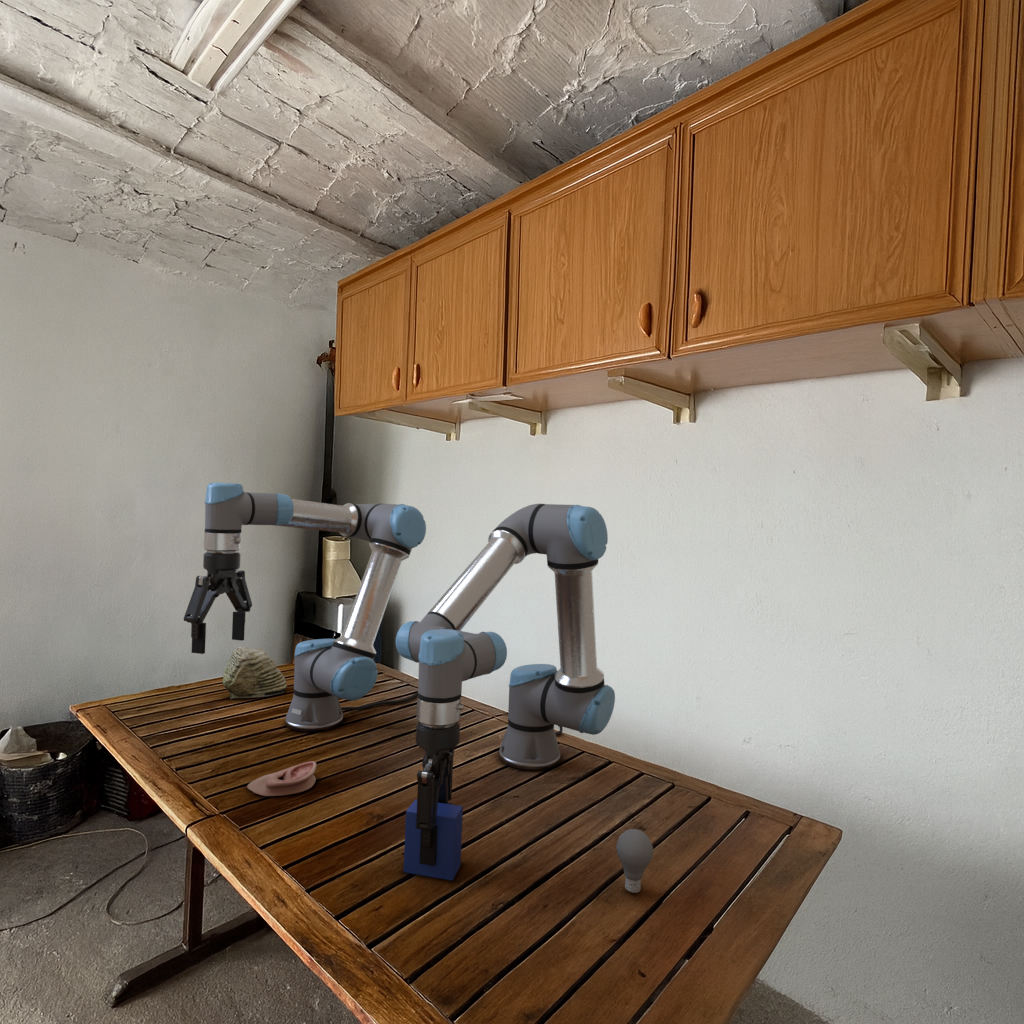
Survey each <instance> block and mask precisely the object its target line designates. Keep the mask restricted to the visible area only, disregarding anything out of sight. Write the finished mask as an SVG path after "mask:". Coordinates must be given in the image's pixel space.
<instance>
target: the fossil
mask: <svg viewBox="0 0 1024 1024" xmlns="http://www.w3.org/2000/svg"><path fill="white" fill-rule="evenodd" d="M222 676H223V677H222V685H223V687H224V688H225V690H226V691H228V693H229V698H230V699H250V698H264V697H271V696H275V695H281V694H284V693H285V691H286V689H287V687H288V686H287V680H286V678H285V676H284V674H283V673H282V672H281V669H279V668H278V667H277V665H276V663H275V662H274V660H273V659H272V658H271V657H270V656H269V655H268V654H267V653H266V652H265V650H264V649H263V648H260V647H258V648H251V647H247V646H246V647H245V646H238V647H237V648H236V649H235V650H233V651H232V653H231V656H230V657H229V659H228V660H227V663H226V666H225V668H224V671H223V675H222Z"/></svg>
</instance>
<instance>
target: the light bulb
mask: <svg viewBox="0 0 1024 1024" xmlns="http://www.w3.org/2000/svg"><path fill="white" fill-rule="evenodd" d="M615 849H616V854H617V857H618V859H619V861H620V863H621V865H622V867H623V873H624V874H623V875H624V876H625V878H624V888H625V890H627V891H628V892H630V893H634V894H635V893H639V892H640V891H641V889H642V887H641V886H642V879H643V877H644V875H645V871H646V868H647V867H648V866H649V864H650V863H651V861H652V859H653V855H654V847H653V843H652V841H651V838H649V836H648V835H647V834H646V833H645V832H643V831H642V830H641V829H636V828H629V829H627V830H625V831H623V832H622V833H621V834H620V835H619V837H618V839H617V841H616V847H615Z"/></svg>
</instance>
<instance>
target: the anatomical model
mask: <svg viewBox="0 0 1024 1024" xmlns="http://www.w3.org/2000/svg"><path fill="white" fill-rule="evenodd" d="M316 770H317V762H316V761H314V760H311V761H306V762H303V763H298V764H296V765H293V766H290V767H287V768H284V769H282V770H279V771H275V772H272V773H269V774H265V775H263V776H260V777H257V778H256V779H254V780H252V781H250V782H249V783H248V784H247V786H246V788H247V789H248V790H249V791H250V792H251V793H253V794H256V795H259V796H263V797H277V796H287V795H295V794H299V793H302V792H305V791H307V790H309V789H311V788H312V787H313V786H314V785H315V784H316V780H317V777H316V776H315V775H314V774H315V772H316Z"/></svg>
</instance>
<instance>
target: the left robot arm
mask: <svg viewBox="0 0 1024 1024" xmlns="http://www.w3.org/2000/svg"><path fill="white" fill-rule="evenodd" d="M243 526H275V527H287V528H293V529H295V528H296V529H302V530H303V529H304V530H312V531H313V530H314V531H322V532H333V533H339V534H340V535H341V536H343V537H345V538H347V537H348V538H354V539H359V540H362V541H366V542H369V543H368V545H369V547H370V550H371V554H370V557H369V560H368V563H367V564H366V568H365V569H364V573H363V577H362V578H361V582H360V585H359V587H358V590H357V593H356V596H355V598H354V601H353V604H352V607H351V610H350V612H349V615H348V617H347V621H346V623H345V626H344V629H343V632H342V634H341V636H339V637H337V638H318V639H308V640H304V641H300V642H299V643H297V644H296V646H295V650H294V655H293V657H294V672H293V673H294V674H293V695H292V696H293V697H292V699H291V702H290V704H289V708H288V711H287V713H286V715H285V726H286V728H287V729H289V730H291V731H294V732H295V731H296V732H301V733H316V732H325V731H329V730H332V729H335V728H337V727H339V726H340V725H342V723H343V722H344V714H343V711H360V710H365V709H369V708H372V707H377V706H383V705H392V704H400V703H401V704H402V703H405V702H408V701H411V700H413V699H414V698H416V697H417V696H418V691H416V692H415V693H413V694H412V695H410V696H408V697H405V698H402V699H394V700H383V701H376V702H372V703H368V704H365V705H360V706H341V702H340V699H341V700H345V701H357V700H360V699H362V698H363V697H364V696H367V695H368V694H369V693H370V692H371V691H372V690H373V688H374V686H375V684H376V682H377V679H378V673H379V670H378V669H377V667H378V666H377V664H376V662H375V658H376V656H377V651H376V649H375V647H374V643H375V641H376V637H377V634H378V631H379V629H380V626H381V623H382V620H383V618H384V614H385V611H386V609H387V605H388V603H389V599H390V596H391V594H392V591H393V588H394V586H395V582H396V579H397V577H398V574H399V570H400V568H401V564H402V563H403V561H405V560H407V559H408V558H410V556H411V553H412V550H413V549H414V548H417V547H419V545H421V544H422V543H423V542H424V540H425V537H426V533H427V524H426V520H425V519H424V515H423V513H422V512H421V511H420V510H419V509H418V508H417V507H415V506H413V505H408V504H404V503H399V504H396V503H394V504H393V503H381V502H379V503H378V502H377V503H351V502H347V503H345V504H343V505H341V504H333V503H326V502H318V501H310V500H303V499H296V498H291V496H289V495H288V494H285V493H279V492H278V493H277V492H274V493H271V492H269V493H267V492H247V491H246V492H245V490H244V486H243V485H242V483H235V482H234V483H233V482H210V483H208V485H206V490H205V498H204V532H203V550H204V551H205V552H204V553H203V561H202V567H203V569H204V570H206V575H197V576H196V577H195V581H194V582H195V583H194V588H193V591H192V594H191V597H190V599H189V602H188V604H187V607H186V608H187V609H186V610H185V612H184V616H183V621H184V622H187V623H190V625H191V627H190V628H191V629H190V631H191V632H190V638H191V654H197V655H198V654H200V655H204V654H206V637H207V634H206V633H207V622H204V621H205V619H206V617H207V616H208V613H209V612H210V610H211V607H212V605H213V604H214V602H215V600H216V598H218V597H220V595H223V594H224V593H225V594H226V596H227V598H228V599H229V601H230V603H231V604H232V606H233V608H234V610H235V611H232V624H231V629H232V630H231V640H232V641H245V625H246V613H250V612H251V609H252V607H253V602H252V598H251V594H250V592H249V588H248V585H247V581H246V571H245V570H241V569H240V568H241V557H242V555H241V553H240V552H239V551H240V550H241V549H242V547H241V546H242V527H243Z"/></svg>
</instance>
